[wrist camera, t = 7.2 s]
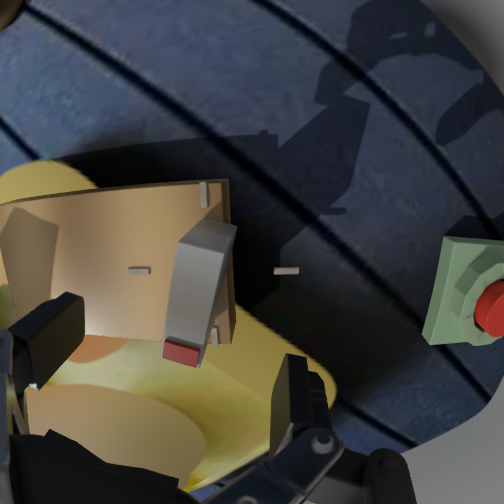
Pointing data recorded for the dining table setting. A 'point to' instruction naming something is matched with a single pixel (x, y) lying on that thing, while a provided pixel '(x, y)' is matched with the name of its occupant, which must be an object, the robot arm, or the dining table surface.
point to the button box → (462, 289)
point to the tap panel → (113, 252)
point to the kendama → (8, 11)
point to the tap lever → (196, 290)
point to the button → (491, 309)
